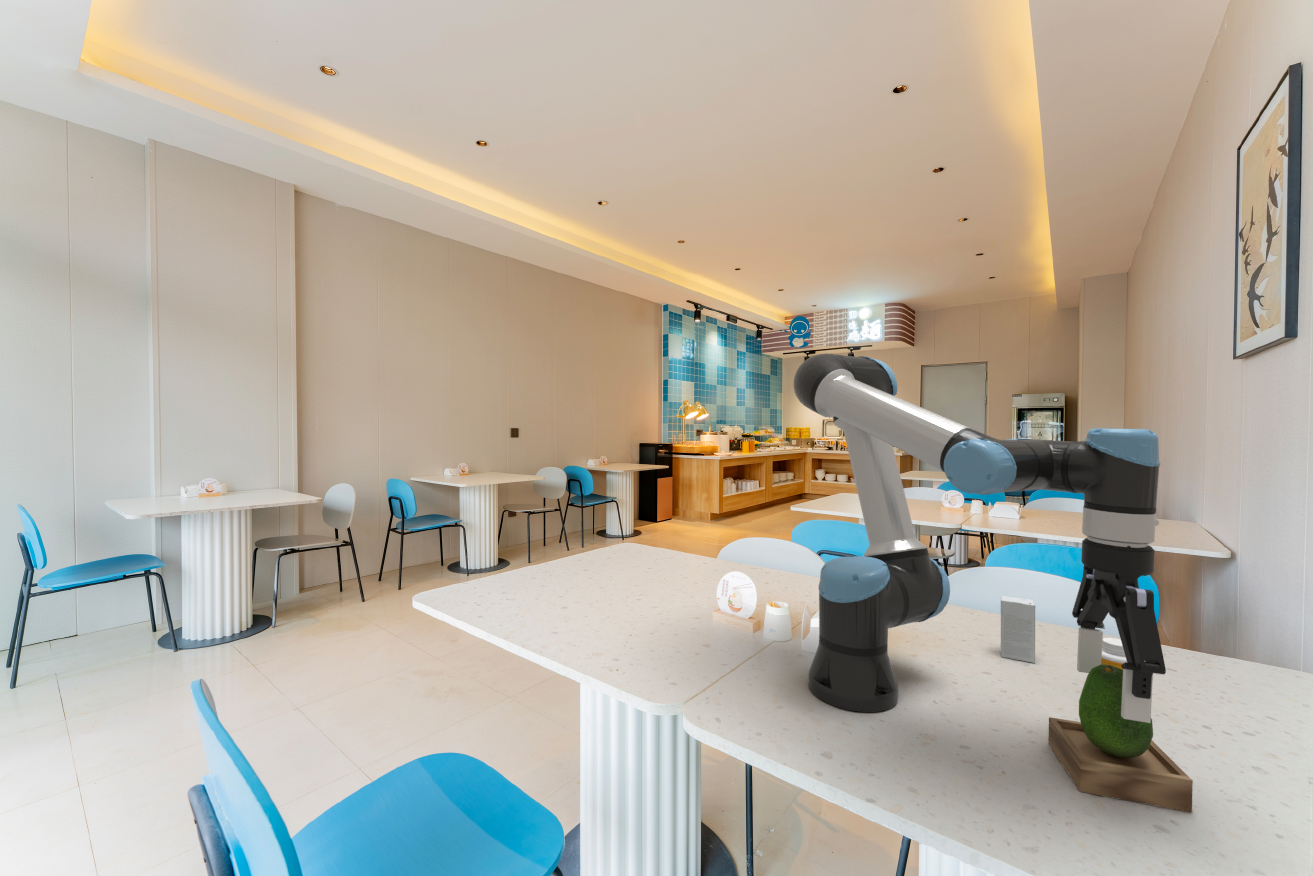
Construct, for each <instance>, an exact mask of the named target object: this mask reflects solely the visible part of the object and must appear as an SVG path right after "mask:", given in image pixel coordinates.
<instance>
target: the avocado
mask: <svg viewBox="0 0 1313 876" xmlns="http://www.w3.org/2000/svg"><path fill="white" fill-rule="evenodd" d="M1122 684H1123V670H1122V669H1119V668H1117V667H1114V666H1112V665H1099V666H1096V667H1094V668H1092V669H1091V671H1090V672H1089V673H1087V675H1086V678H1085V681H1084V683H1083V686H1082V690H1081V694H1080V697H1079V700H1078V717H1079V720H1080V721H1079V722H1081V725H1082V728H1083V730H1084V733H1085V734H1086V736H1087V738H1088V739H1089V740H1090V742H1091V743H1092V744H1093V745H1095V746H1096V747H1097V748H1099V749H1100V750H1101V751H1103V752H1105V753H1108V754H1111V755H1113V756H1116V757H1123V758H1133V757H1138V756H1140V755H1142V754H1143V753H1144V752H1145V751H1146V750H1147V749H1148V748H1149V746H1150V743H1151V740H1152V741H1153V738H1154V728H1153V719H1152V718H1151V723H1147V722H1141V721H1134V720H1128V719H1124V718H1123V717H1122V716H1121V704H1122Z"/></svg>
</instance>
